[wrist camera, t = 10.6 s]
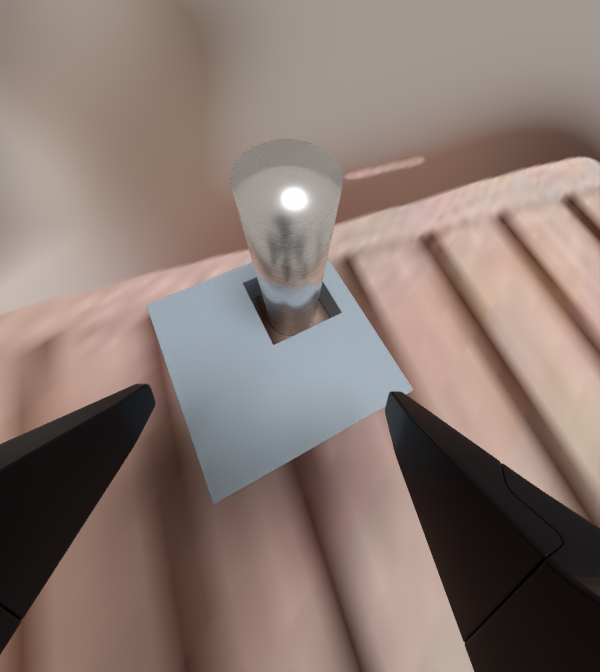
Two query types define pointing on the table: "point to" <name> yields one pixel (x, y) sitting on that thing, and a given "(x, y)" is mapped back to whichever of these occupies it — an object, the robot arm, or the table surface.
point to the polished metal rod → (288, 224)
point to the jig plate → (267, 375)
